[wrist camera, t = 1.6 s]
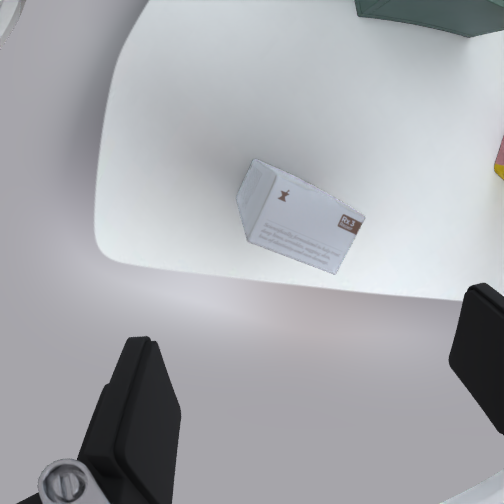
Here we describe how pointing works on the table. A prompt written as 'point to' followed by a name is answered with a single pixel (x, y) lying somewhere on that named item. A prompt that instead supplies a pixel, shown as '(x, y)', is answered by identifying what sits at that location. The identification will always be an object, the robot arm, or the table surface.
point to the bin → (439, 14)
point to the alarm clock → (500, 161)
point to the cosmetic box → (296, 217)
